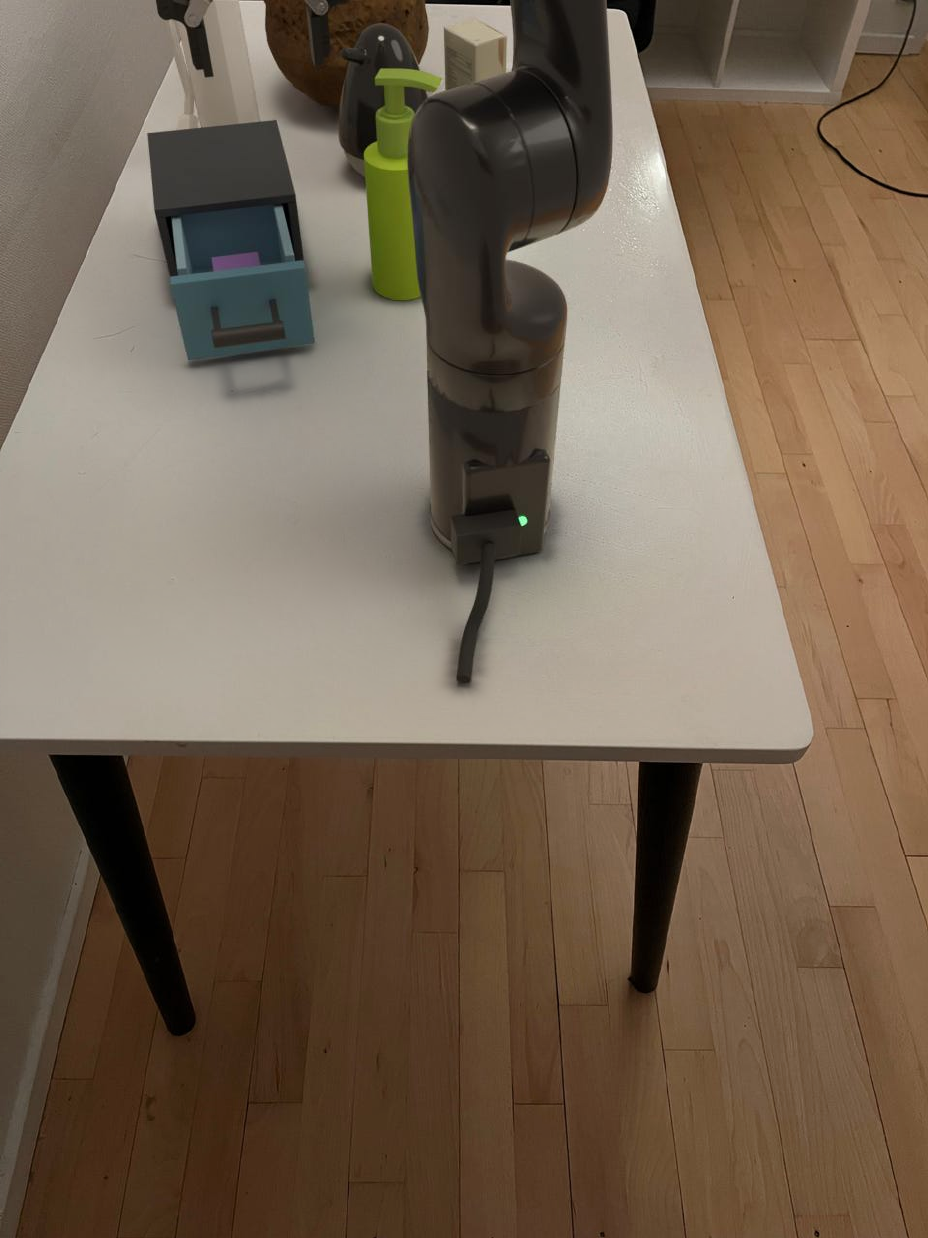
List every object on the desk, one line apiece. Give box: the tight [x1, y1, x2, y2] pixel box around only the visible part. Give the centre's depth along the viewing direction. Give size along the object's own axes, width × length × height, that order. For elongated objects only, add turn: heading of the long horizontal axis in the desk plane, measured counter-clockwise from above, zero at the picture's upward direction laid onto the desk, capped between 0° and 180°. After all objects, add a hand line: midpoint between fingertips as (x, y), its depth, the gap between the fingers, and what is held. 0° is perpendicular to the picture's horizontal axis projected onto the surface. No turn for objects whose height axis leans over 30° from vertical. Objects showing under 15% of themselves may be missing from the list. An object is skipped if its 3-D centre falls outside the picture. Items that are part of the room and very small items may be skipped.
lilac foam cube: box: [211, 252, 261, 271], centre depth 96 cm, size 4×4×4 cm
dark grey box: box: [146, 119, 305, 277], centre depth 103 cm, size 15×13×10 cm
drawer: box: [168, 204, 316, 361], centre depth 95 cm, size 18×11×8 cm, turn 13°
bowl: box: [263, 0, 430, 109], centre depth 123 cm, size 19×19×15 cm
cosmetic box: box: [443, 18, 508, 91], centre depth 117 cm, size 6×4×12 cm
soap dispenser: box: [364, 69, 443, 301], centre depth 96 cm, size 6×7×20 cm
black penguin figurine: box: [337, 23, 429, 178], centre depth 112 cm, size 10×10×15 cm
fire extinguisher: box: [154, 0, 261, 130], centre depth 110 cm, size 7×12×25 cm, turn 103°
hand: (263, 67), depth 83 cm, fingers open, 8 cm apart
